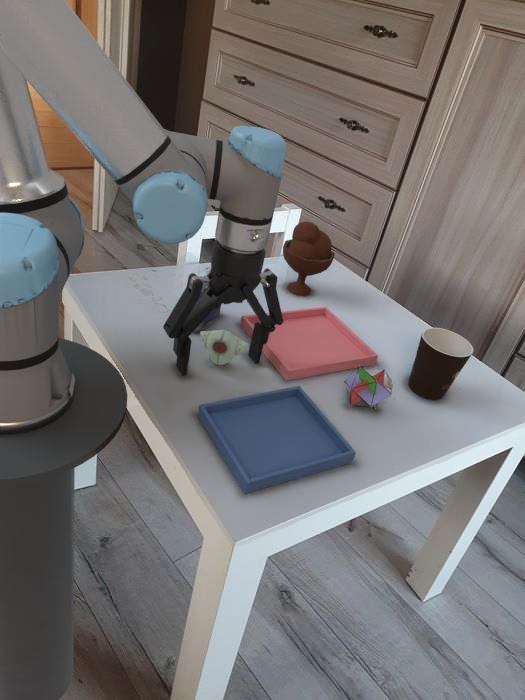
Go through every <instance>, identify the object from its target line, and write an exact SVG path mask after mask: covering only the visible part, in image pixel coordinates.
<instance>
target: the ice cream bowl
mask: <svg viewBox="0 0 525 700" xmlns="http://www.w3.org/2000/svg"><path fill="white" fill-rule="evenodd" d="M291 235H292V237H291V239H287V240H285V241H284V243H283V245H282V256H283V259H284V261H285V263H286V264H287V265H288V266H289V267H290V269H292V270H293V271H294V272H295V273H297V279H296V281H292V282H288V283H287V284H286V285H287V286H286V291H288V292H289V293H290V294H292V295H295V296H298V297H309V296H310V295H311V294H312V288H311V287H310V286H309V285H308V284H306V279H307V278H308V277H311V276H314V275H319V274H321V273H323V272H325V271H327V270H328V269H329V268H330V266H331V265H332V264H333V261H334V259H335V255H336V254H335V252H334V251H333V250H332V244H333V243H332V240H331V238H330V237H329V235H328V234H327V233H326V232H324V231H323V230H320V228H319V226H318V225H317V224H315V223H313V222H311V221H301V222H300V223H298V224H296V225H295V226H294V228H293V231H292V234H291Z"/></svg>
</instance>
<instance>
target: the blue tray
mask: <svg viewBox="0 0 525 700" xmlns="http://www.w3.org/2000/svg"><path fill="white" fill-rule="evenodd" d="M197 410H198V411H197V417H198V419H199V420H200V422H201V424H202V426H203V427H204V429H205V430H206V432H207V434H208V435H209V437H210V439H211V440H212V442H213V445H215V447H216V449H217V451H218V452H219V454H220V456H221V457H222V459H223V461H224V462H225V464H226V465H227V467H228V469H229V471H230V472H231V474H232V475H233V477H234V479H235V480H236V482H237V484H238V485H239V487H240V488H241V490H242V492H243V493H244V494H248V493H252V492H255V491H258V490H263V489H266V488H269V487H272V486H276V485H280V484H282V483H287V482H290V481H293V480H296V479H300V478H303V477H307V476H310V475H315V474H318V473H321V472H325V471H327V470H331V469H334V468H338V467H342V466H345V465H349V464H352V463H353V461H354V458H355V456H356V454H357V452H356V450H354V448H353V447H352V446H351V445H350V444H349V442H348V441H347V440H346V438H345V437H344V436H343V435H342V434H341V433H340V432H339V431H338V430H337V428H336V427H335V426H334V424H332V421H330V419H328V418H327V416H326V415H325V414H324V413H323V412H322V411H321V410H320V408H319V407H318V406H317V405H316V403H315V402H314V401H313V399H312V398H311V397H310V396H309V395H308V394H307V393H306V391H305V390H304V389H303V388H302V387H301V386H300V385H296V386H291V387H286V388H281V389H276V390H271V391H266V392H265V391H264V392H260V393H255V394H249V395H245V396H244V395H243V396H239V397H233V398H229V399H224V400H217V401H213V402H208V403H203V404H199V405H198V409H197Z"/></svg>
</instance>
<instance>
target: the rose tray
mask: <svg viewBox="0 0 525 700" xmlns="http://www.w3.org/2000/svg"><path fill="white" fill-rule="evenodd" d="M265 313H266V312H265ZM281 313H282V317H283V323H282V324H281V325H277V324H276V325H274V326H275V330H274V331H273V332H270V334H269V338H268V342H267V343H266V344H264V345H263V349H262V353H263V355H264V356H265V357H266V358H267V359H268V361H269V362H270V363H271V365H273V367H274V368H275V369H276V371H278V373H279V374H280V375H281V376H282V377H283V379H284V380H285V381H290V380H291V381H292V380H298V379H302V378H303V379H304V378H308V377H314V376H318V375H319V376H320V375H325V374H330V373H335V372H336V373H337V372H341V371H346V370H347V371H348V370H353V369H358V368H359V365H360V366H361V367H362V368H365V366H366V367H370V366H374V365H376V363H377V360H378V358H379V355H378V353H376V352H375V351H374V350H373V349H372V348H371V347H370V346H369V345H368V344H367V343H365V341H364V340H363V339H361V338H360V337H359V336H358V335H357V334H356V333H355V332H354V331H353V330H351V328H350V327H348V326H347V325H346V324H345V323H344V322H343V321H342V320H341V319H340V318H339V317H337V315H335V313H333V312H332V311H331V310H330V309H329V308H328V307H327V306H321V307H310V308H301V309H294V310H293V309H292V310H285V311H281ZM266 314H267V316H269V315H270V314H269V312H267V313H266ZM257 322H259V323H260V324H261V322H260V320H259V319H258V317H257V316H256V314H248V315H247V314H246V315H242V316H241V319H240V327H241V328H242V329H243V330H244V331H245V333H246V334H247V335H248V336H249V338H250V339H252V334H253V330H254V325H255V323H257Z"/></svg>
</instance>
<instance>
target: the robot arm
mask: <svg viewBox="0 0 525 700" xmlns="http://www.w3.org/2000/svg"><path fill="white" fill-rule="evenodd" d="M29 86H31V87H32V88H33V90H34V91H35V92H36V93H37V94H38V95H39V96H40V98H41V99H42V100H43V101H44V102H45V104H46V105H47V106H48V107H49V108H50V109H51V110H52V111H53V112H54V114H55V115H56V116H57V117H58V118H59V119H60V121H61V122H62V123H63V124H64V125H65V126H66V128H67V129H68V130H69V131H70V132H71V133H72V134H73V136H74V137H75V138H76V139H77V140H78V141H79V142H80V143H81V145H82V146H83V147H84V148H85V149H86V150H87V151H88V153H89V154H90V155H91V156H92V157H93V159H94V160H95V161H96V162H97V163H98V164H99V165H100V166H101V168H102V169H103V170H104V171H105V172H106V174H107V175H108V176H109V177H110V178H111V179H112V180H113V181H114V182H115V183H116V185H117V186H118V187H119V188H120V190H121V191H122V192H123V193H124V194H125V196H126V197H127V198H128V199H129V200H130V201H131V203H132V211H133V214H134V218H135V221H136V224H137V225H138V227H139V228H140V230H141V231H142V233H144V235H146V236H147V237H149V238H150V239H152V240H154V241H156V242H158V243H162V244H166V245H176V244H180V243H184V242H186V241H188V240H190V239H193V237H194V236H196V234H197V233H198V232H199V231H200V230H201V228H202V226H203V224H204V222H205V219H206V214H207V211H208V206H209V200H212V201H220V202H219V209H218V214H217V220H216V228H215V234H214V238H215V240H214V242H213V245H212V246H213V247H212V254H211V259H210V269H211V271H210V273H209V275H208V276H207V277H203V276H198V275H197V274H196V273H195V272H193V273H190V274H189V275H188V279H187V282H186V286H185V288H184V290H183V292H182V293H181V296H180V297H179V299H178V300H177V302H176V304H175V305H174V307H173V309H172V310H171V312H170V314H169V316H168V317H167V319H166V321H165V322H164V324H163V327H162V329H163V330H164V332H165V333H166V336H168V338H169V339H170V340H171V339H173V347H172V350H173V352H174V354H175V355H176V361H175V367H176V368H177V370H178V371H179V373H180V375H181V376H187V375H188V369H189V362H190V354H191V347H192V339H191V337H190V336H191V335H192V334H193V333H194V332H193V331H194V330H195V329H196V328H197V327H198V326H199V325H200V324H201V323H202V322H203V321H204V319H205V318H206V317H207V316H208V315H209V314H210V313H211V312H212V311H213V310H214V309H218V308H219V307H220V305H221V306H222V304H223V305H230V304H232V303H236V304H242V303H243V302H244V301H246V303H247V304H248V305H249V306H250V308H251V310H252V311H253V312H254V315H256V316H257V317H258V319H259V320H260V322H261V324H260V323H259V322H257V323H255V325H254V330H253V334H252V339H251V338H250V339H251V340H250V343H249V349H248V352H247V355H248V356H249V358H250V359H251V360H252V362H253V363H254V364H255V365H257V364H260V362H261V357H262V353H263V352H262V349H263V345H264V344H266V343H267V342H268V338H269V334H270V332H273V331H274V330H275V326H274V325H276V324H277V325H281V324H282V323H283V317H282V313H281V312H282V307H281V304H280V299H279V294H278V291H277V285H278V276H277V274H275V273H274V272H273V271H272V270H271V269H270V268H265V269H264V263H265V258H266V253H267V251H266V248H267V245H268V242H269V238H270V233H271V228H272V225H273V218H274V214H275V209H276V205H277V201H278V200H277V199H278V196H279V191H280V186H281V182H282V178H283V177H284V174H283V173H284V165H285V159H286V153H287V143H286V141H285V139H284V137H283V136H281V135H280V134H279V133H278V132H274V131H273V130H270V129H267V128H263V127H259V126H253V125H251V126H248V125H237V126H234V127H233V128H232V129H231V131H230V136H229V137H228V139H227V140H225V139H222V140H219V139H214V138H208V137H204V136H203V137H202V136H198V135H193V134H187V133H182V132H176V131H171V130H168V129H166V128H164V127H163V125H161V123H160V122H159V121H158V119H157V118H156V116H154V114H153V113H152V112H151V110H150V109H149V108H148V106H147V105H146V103H144V101H143V100H142V99H141V97H140V96H139V95H138V93H137V92H136V91H135V89H134V88H133V86H131V84H130V82H129V81H128V80H127V79H126V78H125V77H124V75H123V74H122V72H121V71H120V70H119V69H118V67H117V66H116V65H115V63H114V62H113V60H112V59H111V57H109V56H108V54H107V53H106V52H105V50H104V49H103V48H102V46H101V45H100V44H99V42H98V41H97V40H96V38H95V37H94V36H93V35H92V33H91V32H90V30H89V28H87V27H86V26H85V24H84V22H83V21H82V20H81V19H80V17H79V16H78V15H77V13H76V12H75V10H73V8H72V7H71V5H70V4H69V3H68V2H67V0H0V434H18V433H24V432H29V431H32V430H36V429H39V428H41V427H44V426H46V425H48V424H50V423H52V422H54V421H55V420H57V419H58V418H59V417H61V416H62V415H63V414H64V413H65V412H66V411H67V410H68V408H69V407H70V405H71V403H72V400H73V396H74V383H75V377H74V375H73V372H72V374H71V372H70V370H69V367H68V365H67V363H66V360H65V358H64V356H63V354H62V351H61V349H60V347H59V338H60V324H59V323H60V322H59V321H60V315H59V307H60V306H59V305H60V298H61V295H62V293H63V290H64V288H65V286H66V284H67V281H68V279H69V277H70V275H71V273H72V271H73V269H74V267H75V265H76V263H77V261H78V260H79V258H80V256H81V255H82V252H83V249H84V245H85V239H86V224H85V219H84V216H83V214H82V211H81V209H80V207H79V206H78V204H77V203H76V201H74V199H73V198H72V197H70V195H69V192H68V191H69V190H68V187H67V183H66V182H67V181H66V180H65V178H64V177H63V176H62V175H61V174H59V173H58V172H56V171H55V170H53V169H52V168H51V167H50V164H49V161H48V157H47V153H46V150H45V145H44V141H43V137H42V133H41V129H40V126H39V122H38V119H37V114H36V111H35V107H34V104H33V99H32V96H31V91H30V87H29ZM263 269H264V270H263ZM259 285H262V289H263V294H264V298H265V302H266V306H267V310H268V313H269V314H270V315H269V316H267V314H266V311H265V310H264V308H263V306H262V305H261V303H260V302H259V299H258V298H257V296H256V295H255V292H254V291H255V290H256V289H257V288H258V286H259ZM206 286H209V288H208V289H207V290H206V291H205V292H204V289H205V287H206ZM203 292H204V293H203ZM201 293H203V296H202V298H201V299H200V300H199V302H198V303H197V301H198V299H199V297H200V294H201ZM213 295H215V297H216V298H215V299H214V300H213V298H212V296H213ZM196 303H197V304H196ZM195 304H196V305H195Z"/></svg>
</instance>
